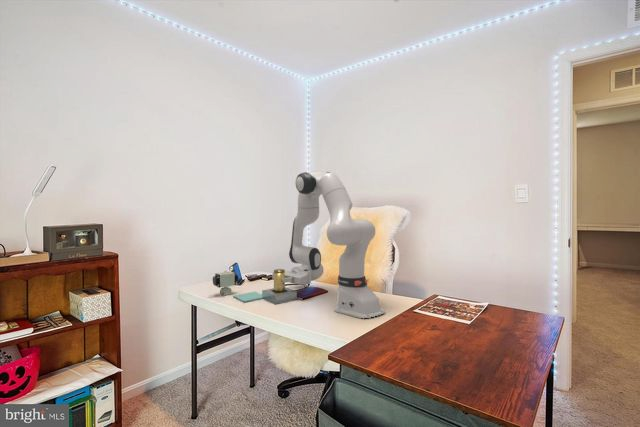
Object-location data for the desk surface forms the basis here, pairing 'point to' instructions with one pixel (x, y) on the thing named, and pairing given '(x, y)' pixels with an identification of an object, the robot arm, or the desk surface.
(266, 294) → the housing
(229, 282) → the pneumatic valve
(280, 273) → the brass cylinder
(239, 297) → the pad
